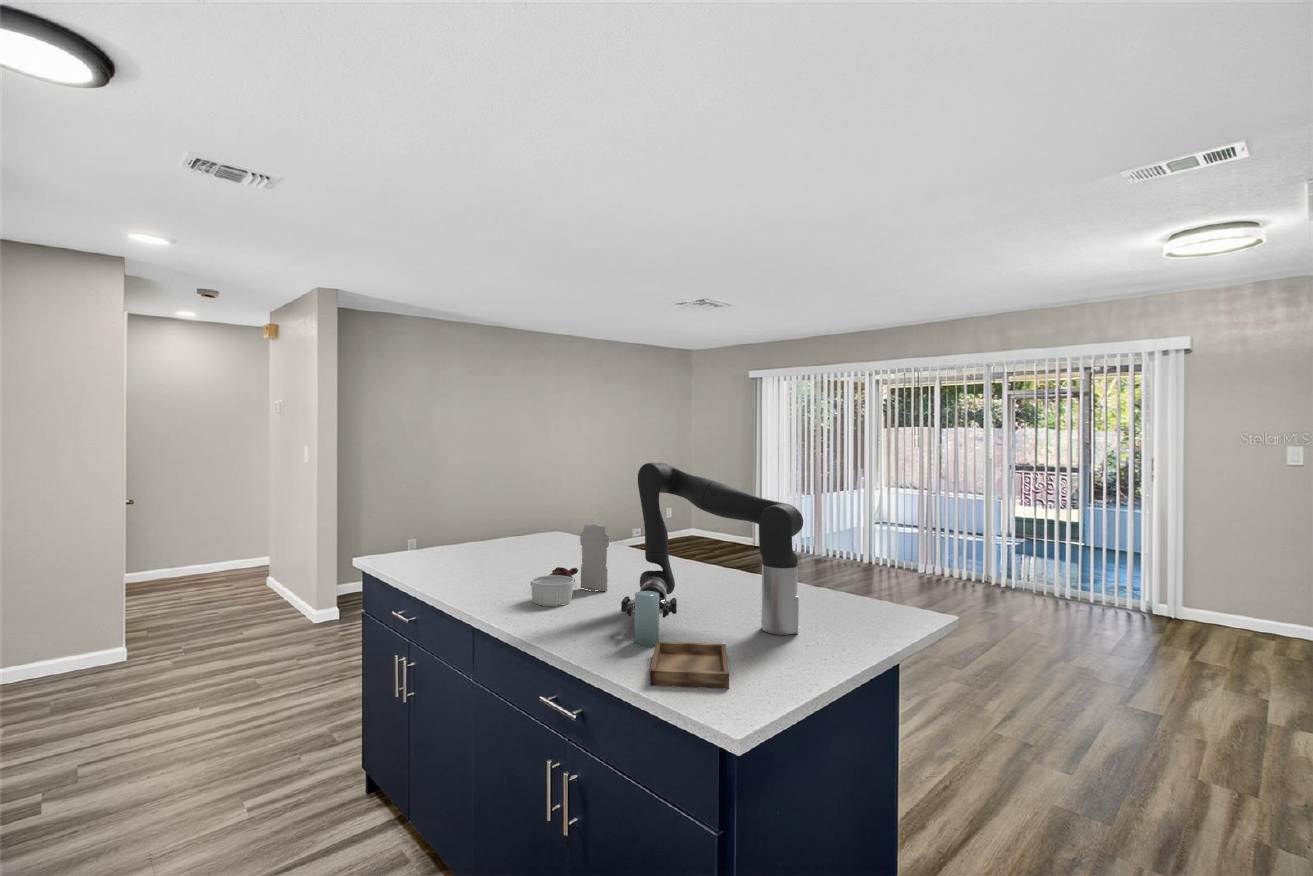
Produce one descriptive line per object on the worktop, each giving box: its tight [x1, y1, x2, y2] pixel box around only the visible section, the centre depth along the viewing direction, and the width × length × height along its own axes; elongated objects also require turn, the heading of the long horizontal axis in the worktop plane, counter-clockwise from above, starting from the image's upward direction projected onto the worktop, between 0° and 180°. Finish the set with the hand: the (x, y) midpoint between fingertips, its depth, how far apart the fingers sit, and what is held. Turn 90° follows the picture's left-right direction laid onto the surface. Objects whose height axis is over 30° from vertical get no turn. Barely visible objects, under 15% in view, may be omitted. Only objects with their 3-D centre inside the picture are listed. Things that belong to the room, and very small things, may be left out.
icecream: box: [549, 566, 579, 583], centre depth 205 cm, size 7×7×15 cm
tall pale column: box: [579, 523, 610, 592], centre depth 201 cm, size 11×4×22 cm, turn 69°
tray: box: [649, 641, 730, 690], centre depth 132 cm, size 16×18×3 cm
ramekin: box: [529, 574, 575, 607], centre depth 186 cm, size 13×13×7 cm
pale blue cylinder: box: [633, 590, 660, 648], centre depth 149 cm, size 6×6×12 cm
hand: (647, 613), depth 150 cm, fingers open, 8 cm apart
